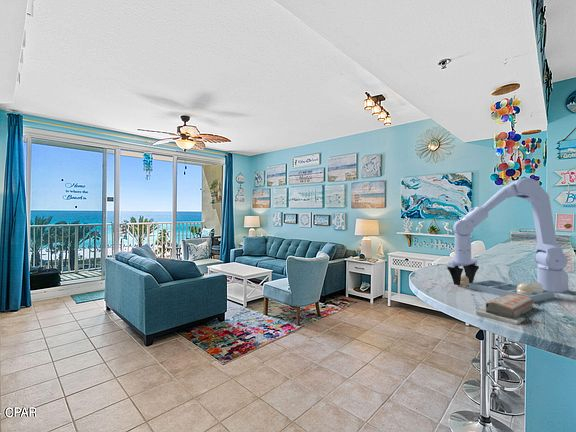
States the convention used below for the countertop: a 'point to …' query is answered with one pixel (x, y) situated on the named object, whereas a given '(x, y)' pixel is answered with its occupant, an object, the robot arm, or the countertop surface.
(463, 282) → the loose egg
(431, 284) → the countertop surface
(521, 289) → the seated egg
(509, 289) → the egg carton
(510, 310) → the packaged product
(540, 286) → the seated egg
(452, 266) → the robot arm
